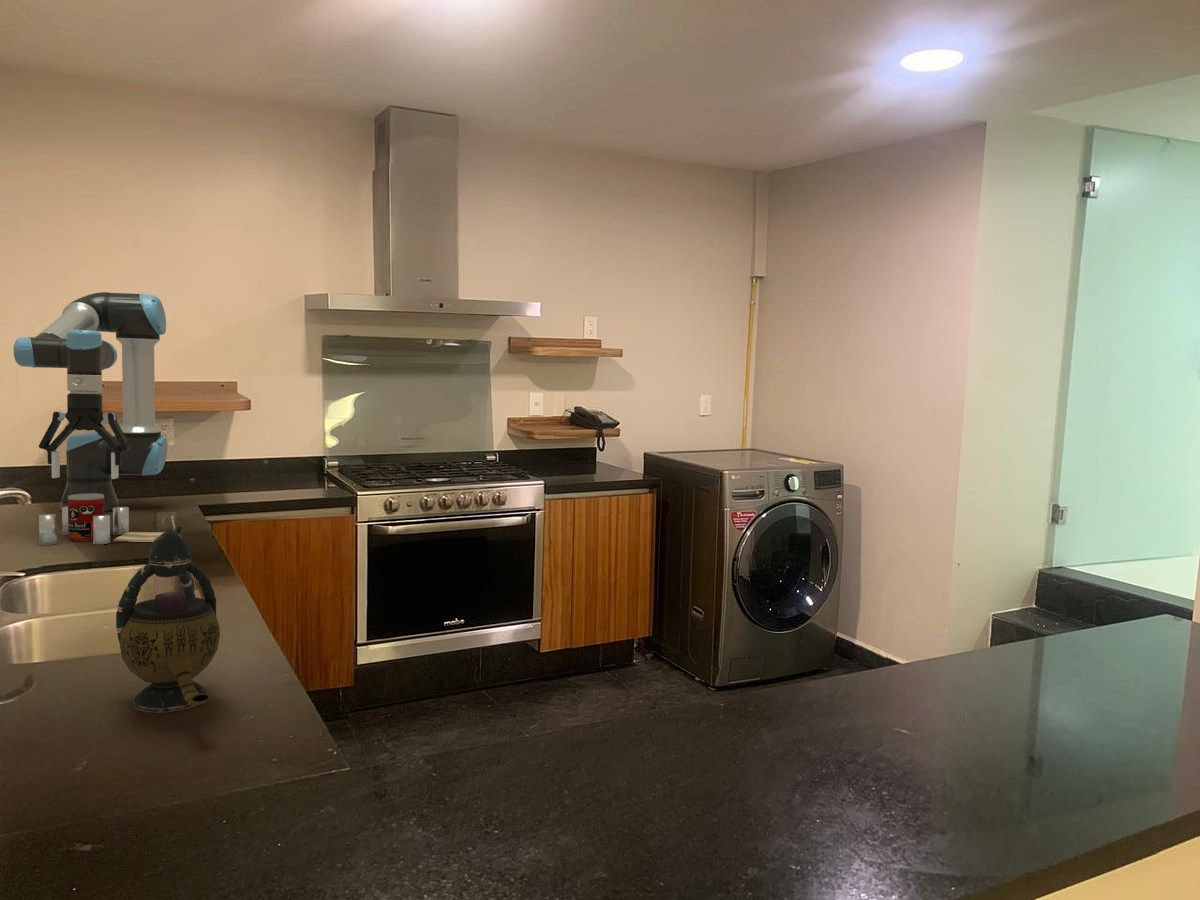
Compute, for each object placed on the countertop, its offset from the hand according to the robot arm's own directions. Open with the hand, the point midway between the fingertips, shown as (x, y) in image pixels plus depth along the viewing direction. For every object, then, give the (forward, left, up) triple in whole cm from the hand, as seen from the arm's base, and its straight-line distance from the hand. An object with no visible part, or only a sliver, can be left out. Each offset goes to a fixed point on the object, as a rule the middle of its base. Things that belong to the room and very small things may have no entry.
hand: (85, 478), depth 222 cm
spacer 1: (+7, -6, -15) cm, 18 cm away
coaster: (0, +12, -15) cm, 20 cm away
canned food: (0, 0, -16) cm, 16 cm away
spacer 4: (-6, +6, -15) cm, 18 cm away
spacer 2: (-6, -6, -15) cm, 18 cm away
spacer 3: (+7, +6, -15) cm, 18 cm away
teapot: (+119, +55, -16) cm, 131 cm away
